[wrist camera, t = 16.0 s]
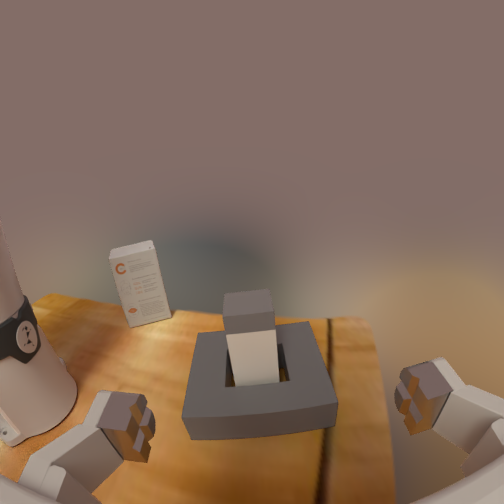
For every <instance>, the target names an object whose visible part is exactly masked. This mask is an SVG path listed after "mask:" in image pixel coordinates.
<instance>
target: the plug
mask: <svg viewBox="0 0 504 504" xmlns="http://www.w3.org/2000/svg"><path fill="white" fill-rule="evenodd" d="M223 322H224V328H225V333H226V338H227V344H228V349H229V354H230V359H231V365H232V370H233V375H234V380H235V385H236V387H237V386H249V385H259V384H268V383H277V382H279V368H278V355H277V342H276V329H275V316H274V308H273V304H272V299H271V294H270V289H262V290H254V291H244V292H234V293H226V294H225V296H224V307H223Z"/></svg>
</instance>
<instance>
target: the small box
mask: <svg viewBox="0 0 504 504" xmlns="http://www.w3.org/2000/svg"><path fill="white" fill-rule="evenodd" d="M109 263H110V266H111V270H112V274H113V277H114V281H115V284H116V288H117V291H118V294H119V297H120V301H121V304H122V307H123V310H124V313H125V316H126V319H127V322H128V325H129V327H130V328H132V327H136V326H140V325H144V324H148V323H152V322H156V321H160V320H163V319H167V318H171V317H172V316H171V312H170V308H169V304H168V300H167V296H166V291H165V287H164V283H163V280H162V275H161V271H160V267H159V262H158V258H157V253H156V249H155V247H154V244H153V242H152V240H149V241H145V242H140V243H136V244H132V245H128V246H124V247H120V248H116V249H112V250H111V252H110V257H109Z"/></svg>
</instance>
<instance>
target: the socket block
mask: <svg viewBox="0 0 504 504" xmlns="http://www.w3.org/2000/svg"><path fill="white" fill-rule="evenodd" d="M275 329H276V342H277V355H278V368H284V372H285V377H286V381H285V382H277V383H268V384H259V385H249V386H237V387H231V379H232V373H233V370H232V365H231V359H230V354H229V349H228V344H227V338H226V333H225V331H217V332H204V333H198V336H197V340H196V345H195V350H194V355H193V360H192V365H191V370H190V375H189V380H188V385H187V390H186V396H185V401H184V406H183V412H182V420H183V422H184V424H185V426H186V429H187V431H188V433H189V435H190V437H191V440H221V439H242V438H255V437H266V436H275V435H283V434H291V433H298V432H304V431H310V430H316V429H322V428H327V427H332V426H335V421H336V415H337V408H338V400H337V397H336V394H335V391H334V389H333V386H332V383H331V380H330V377H329V375H328V372H327V369H326V366H325V364H324V361H323V358H322V356H321V353H320V350H319V347H318V345H317V342H316V339H315V337H314V334H313V331H312V329H311V326H310V323H309V321H307V322H299V323H292V324H284V325H276V326H275Z"/></svg>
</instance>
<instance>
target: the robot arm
mask: <svg viewBox="0 0 504 504" xmlns="http://www.w3.org/2000/svg"><path fill="white" fill-rule="evenodd" d="M400 379H401V382H400V383H399V384H398V386H397V387H396V390H395V404H396V407H397V409H398V411H399V412H400V413H402V414H404V415H405V419H404V423H405V425H406V427H407V429H408V431H409V433H410V435H414V434H417V433H420V432H423V431H426V430H429V429H432V430H433V431H435V432H436V433H438V434H439V435H441V436H442V437H444V438H445V439H447V440H448V441H450V442H452V443H453V444H455V445H456V446H457V447H459V448H461V449H462V450H464V451H465V452H467V453H468V454H469V455H468V457H467V458H466V459H465V460H464V461H463V463H462V465H461V467H460V468H461V470H462V472H463V474H464V475H465V478H463V479H462V480H460V481H458V482H456V483H454V484H452V485H450V486H448V487H446V488H444V489H442V490H440V491H438V492H435V493H433V494H431V495H429V496H426V497H424V498H422V499H419V500H417V501H414V502H412V503H409V504H504V399H503V398H500V397H498V396H495V395H493V394H490V393H488V392H486V391H483V390H481V389H478V388H476V387H474V386H471V385H467V386H466V385H465V384H464V383H463V382H462V380H461V379H460V378H459V376H458V375H457V374H456V372H455V371H454V370H453V369H452V367H451V366H450V365H449V364H448V362H447V361H446V360H445V359H444V358H442V357H440V358H436V359H433V360H430V361H426V362H423V363H420V364H416V365H413V366H409V367H406V368H403V370H402V371H401V373H400ZM76 396H77V386H76V382H75V380H74V379H73V377H72V376H71V375H70V374H69V373H68V372H67V367H66V363H65V362H64V360H63V359H62V358H60V357H58V356H57V354H56V353H55V351H54V349H53V348H52V346H51V344H50V343H49V341H48V339H47V338H46V336H45V334H44V332H43V331H42V329H41V327H40V326H39V325H37V320H36V318H35V315H34V313H33V308H32V306H31V304H30V303H29V301H28V299H27V297H26V296H25V295H23V293H22V290H21V287H20V285H19V282H18V279H17V276H16V273H15V269H14V266H13V263H12V260H11V257H10V252H9V249H8V246H7V241H6V238H5V234H4V230H3V226H2V222H1V218H0V440H2V441H3V442H4V443H5V444H7V445H8V446H11V447H12V446H15V445H17V444H19V443H20V442H22V441H23V440H25V439H26V438H28V437H31V436H35V435H38V434H41V433H44V432H46V431H48V430H50V429H52V428H53V427H55V426H56V425H57V424H58V423H60V422H61V421H62V420H63V419H64V418H65V417H66V416H67V414H68V413H69V412H70V410H71V408H72V407H73V405H74V402H75V400H76ZM146 405H147V400H146V398H145V396H144V395H142V394H134V393H124V392H115V391H106V390H101V391H99V392H98V393H97V395H96V397H95V399H94V401H93V403H92V405H91V407H90V409H89V411H88V413H87V415H86V418H85V420H84V422H83V424H78V425H76V426H75V427H73V428H72V429H70V430H69V431H67V432H66V433H64V434H63V435H61V436H60V437H58V438H57V439H55V440H54V441H52V442H51V443H49V444H47V445H46V446H44V447H43V448H41V449H40V450H38V451H36V452H35V453H33V454H32V455H31V456H30V458H29V460H28V462H27V464H26V466H25V468H24V470H23V472H22V474H21V476H20V479H19V481H18V483H16V482H14V481H12V480H10V479H8V478H7V477H5V476H3V475H1V474H0V504H102V503H101V502H100V501H99V500H98V499H97V498H96V497H94V496H93V495H92V494H91V493H92V492H93V491H94V490H95V489H96V488H97V487H98V486H99V485H100V484H101V483H102V482H103V481H104V480H105V479H106V478H108V477H109V476H110V475H111V474H112V473H113V472H114V471H115V470H116V469H117V468H118V467H119V466H120V465H121V464H122V463H123V462H124V461H123V460H127V461H135V462H144V463H147V462H148V458H149V454H150V450H151V446H150V444H149V443H148V441H149V440H150V439H152V438H153V437H154V433H155V418H154V415H153V413H152V411H151V410H150V409H149V408H147V407H146Z"/></svg>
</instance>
